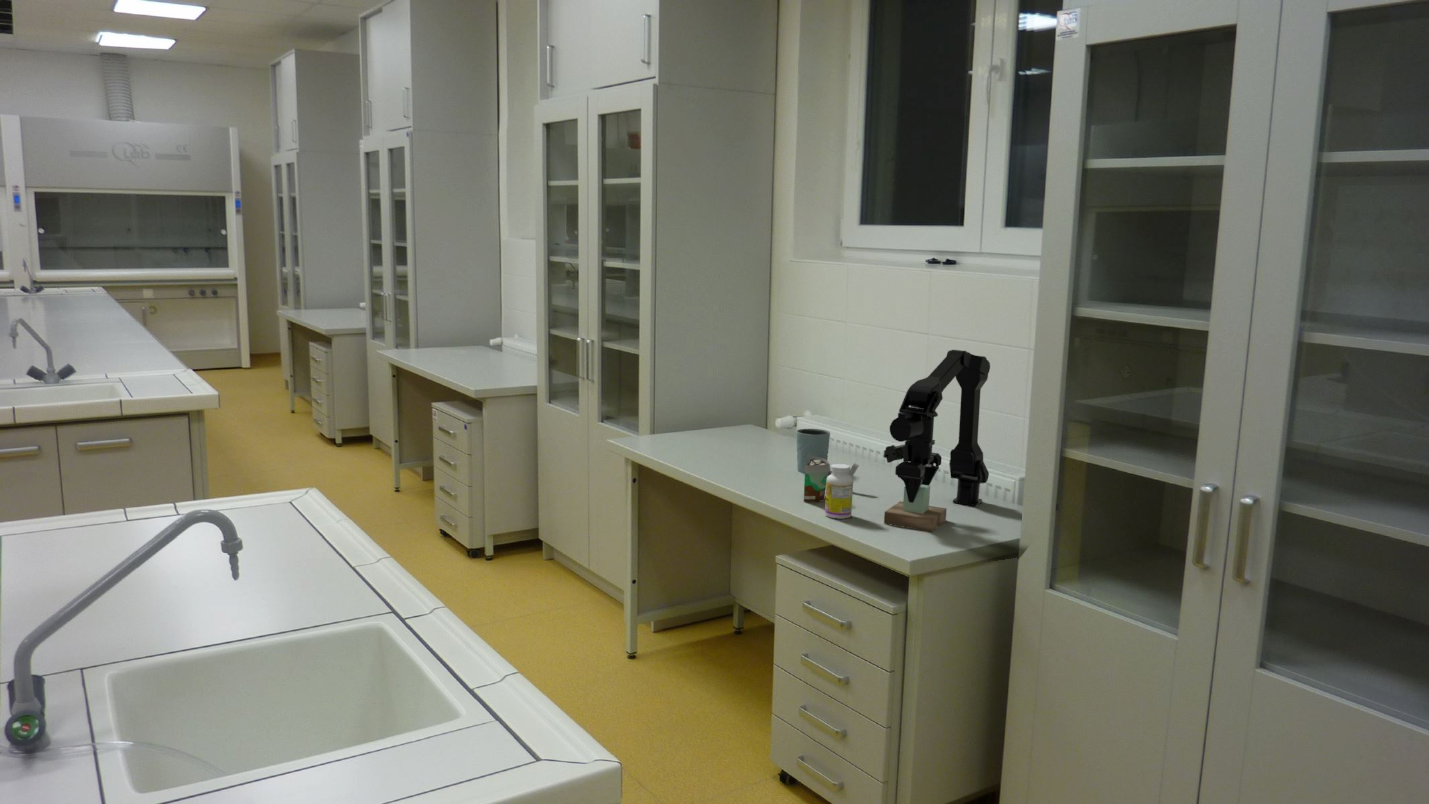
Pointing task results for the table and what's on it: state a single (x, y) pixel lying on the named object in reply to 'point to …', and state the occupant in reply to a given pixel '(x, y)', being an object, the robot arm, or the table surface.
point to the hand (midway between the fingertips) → (916, 498)
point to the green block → (918, 500)
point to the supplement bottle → (839, 492)
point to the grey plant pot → (811, 446)
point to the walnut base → (915, 517)
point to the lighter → (853, 469)
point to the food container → (815, 479)
